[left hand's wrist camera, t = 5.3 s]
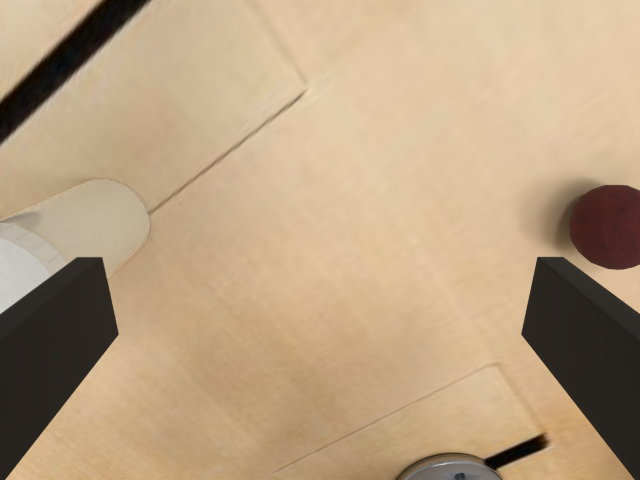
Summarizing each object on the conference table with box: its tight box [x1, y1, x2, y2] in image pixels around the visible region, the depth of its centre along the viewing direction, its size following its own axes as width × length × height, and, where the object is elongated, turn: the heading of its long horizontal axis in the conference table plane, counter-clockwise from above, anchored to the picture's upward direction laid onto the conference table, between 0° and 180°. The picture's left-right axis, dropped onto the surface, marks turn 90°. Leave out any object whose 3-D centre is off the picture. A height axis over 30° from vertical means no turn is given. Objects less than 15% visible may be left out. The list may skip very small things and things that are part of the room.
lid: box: [0, 223, 68, 314], centre depth 27 cm, size 9×9×2 cm
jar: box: [0, 178, 150, 279], centre depth 34 cm, size 8×8×16 cm
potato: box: [570, 185, 640, 270], centre depth 38 cm, size 7×8×7 cm
